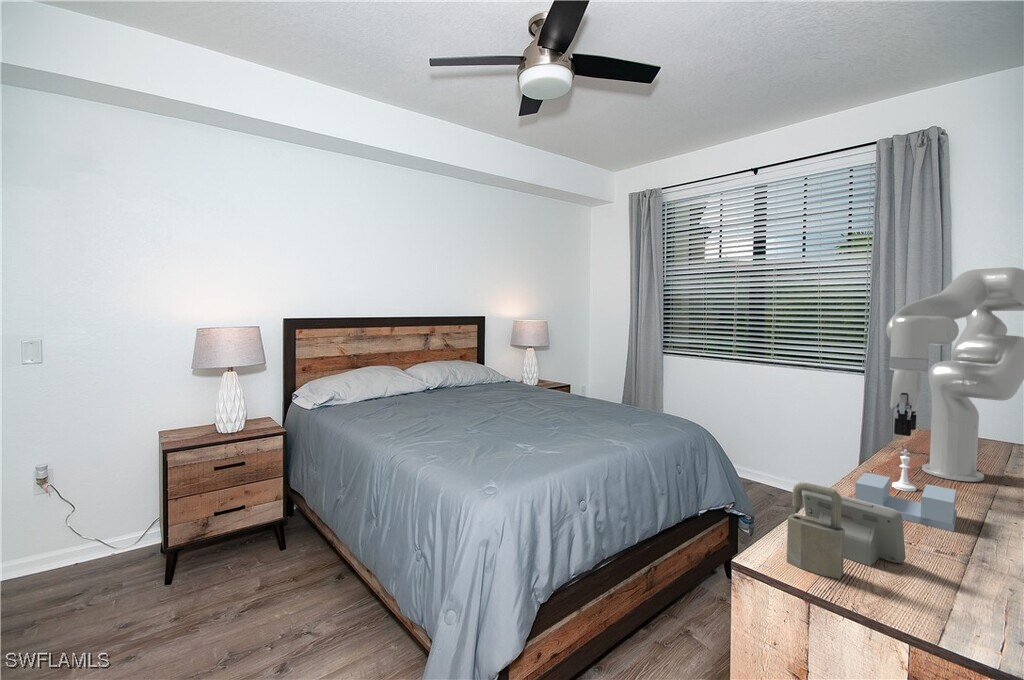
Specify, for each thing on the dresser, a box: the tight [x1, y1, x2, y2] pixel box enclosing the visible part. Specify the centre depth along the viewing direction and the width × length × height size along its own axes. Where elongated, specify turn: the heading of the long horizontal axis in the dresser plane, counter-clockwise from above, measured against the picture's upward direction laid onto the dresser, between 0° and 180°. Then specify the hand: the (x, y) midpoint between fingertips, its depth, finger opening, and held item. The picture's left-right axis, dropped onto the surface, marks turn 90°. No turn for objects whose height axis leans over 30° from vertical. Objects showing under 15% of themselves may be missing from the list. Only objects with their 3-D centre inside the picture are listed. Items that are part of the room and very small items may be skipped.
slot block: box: [854, 472, 958, 533], centre depth 107 cm, size 10×17×6 cm, turn 44°
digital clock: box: [802, 490, 906, 567], centre depth 90 cm, size 16×9×11 cm, turn 26°
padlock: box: [786, 481, 845, 580], centre depth 84 cm, size 4×8×15 cm, turn 44°
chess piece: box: [891, 449, 917, 493], centre depth 122 cm, size 5×5×10 cm
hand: (905, 431), depth 121 cm, fingers open, 9 cm apart
